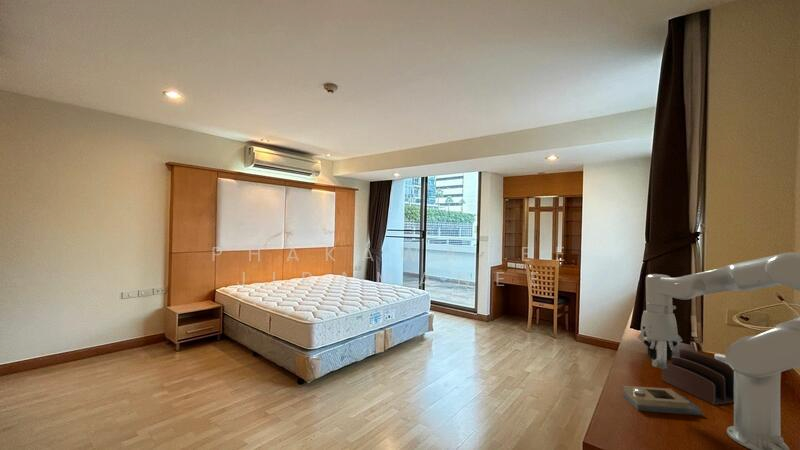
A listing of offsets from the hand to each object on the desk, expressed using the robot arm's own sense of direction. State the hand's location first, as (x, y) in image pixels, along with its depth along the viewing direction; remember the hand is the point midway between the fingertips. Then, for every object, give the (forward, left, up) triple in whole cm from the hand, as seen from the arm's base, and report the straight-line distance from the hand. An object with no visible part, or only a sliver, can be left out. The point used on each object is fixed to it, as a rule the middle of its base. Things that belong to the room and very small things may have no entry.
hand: (659, 358), depth 119 cm
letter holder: (+14, -20, -18) cm, 30 cm away
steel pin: (0, 0, -3) cm, 3 cm away
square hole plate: (0, 0, -17) cm, 17 cm away
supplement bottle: (+27, -38, -17) cm, 50 cm away
